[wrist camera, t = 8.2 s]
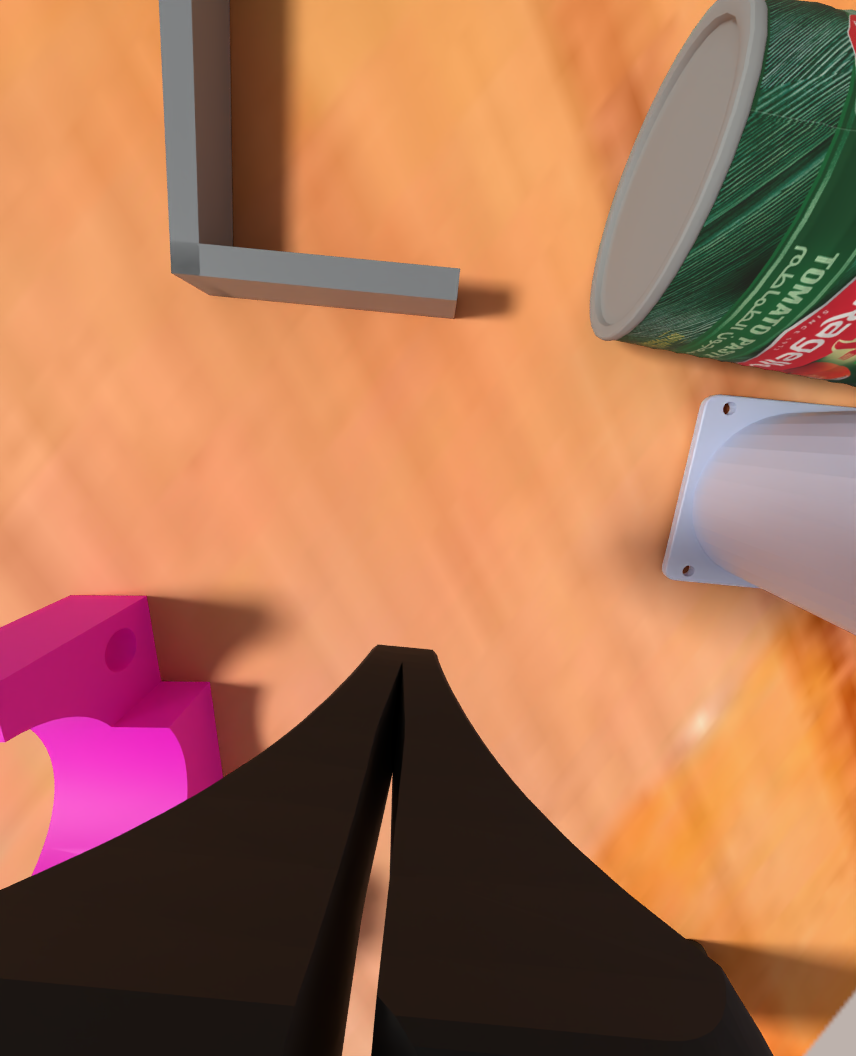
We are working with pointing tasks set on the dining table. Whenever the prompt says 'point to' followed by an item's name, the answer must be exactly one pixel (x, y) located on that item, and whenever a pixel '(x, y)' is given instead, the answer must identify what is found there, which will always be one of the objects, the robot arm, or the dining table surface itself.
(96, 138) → the dining table surface
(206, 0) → the box
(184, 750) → the toy block
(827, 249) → the canned tomato
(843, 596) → the robot arm
